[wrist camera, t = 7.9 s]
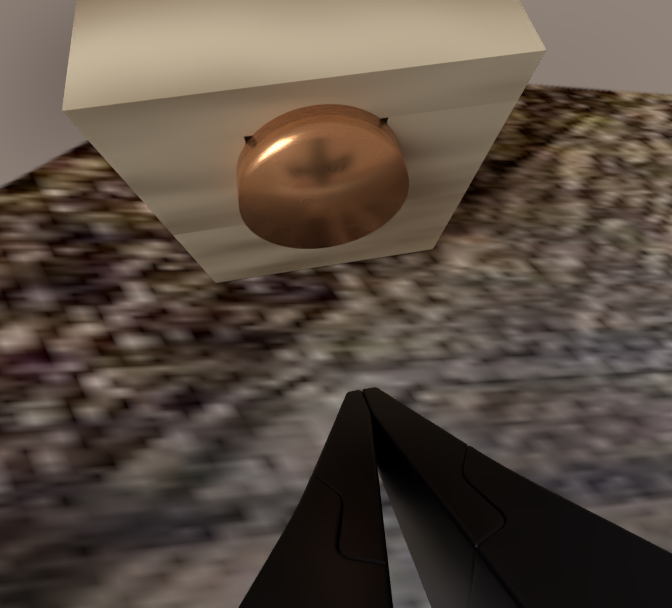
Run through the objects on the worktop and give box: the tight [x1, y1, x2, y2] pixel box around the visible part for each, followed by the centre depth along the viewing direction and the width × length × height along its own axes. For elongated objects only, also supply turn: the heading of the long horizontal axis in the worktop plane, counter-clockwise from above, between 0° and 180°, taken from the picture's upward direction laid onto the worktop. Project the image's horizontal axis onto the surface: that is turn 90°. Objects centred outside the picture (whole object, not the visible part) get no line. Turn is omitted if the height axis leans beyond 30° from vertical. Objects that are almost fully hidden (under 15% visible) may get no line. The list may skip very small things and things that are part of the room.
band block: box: [62, 0, 546, 283], centre depth 14 cm, size 8×12×10 cm, turn 100°
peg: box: [236, 104, 409, 249], centre depth 13 cm, size 9×6×6 cm, turn 10°
